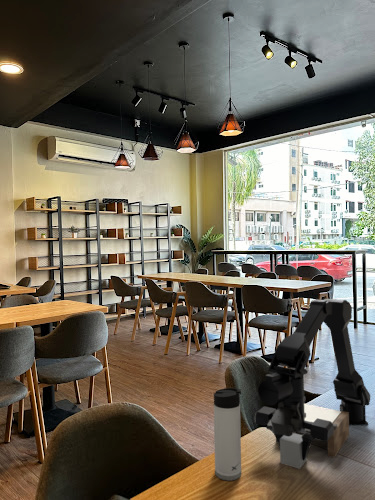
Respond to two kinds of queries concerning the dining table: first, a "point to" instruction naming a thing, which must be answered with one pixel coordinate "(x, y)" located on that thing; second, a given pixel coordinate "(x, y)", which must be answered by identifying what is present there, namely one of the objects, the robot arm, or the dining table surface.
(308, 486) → the dining table surface
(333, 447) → the trapdoor frame
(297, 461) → the light gray block
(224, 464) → the travel mug
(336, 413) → the trapdoor
